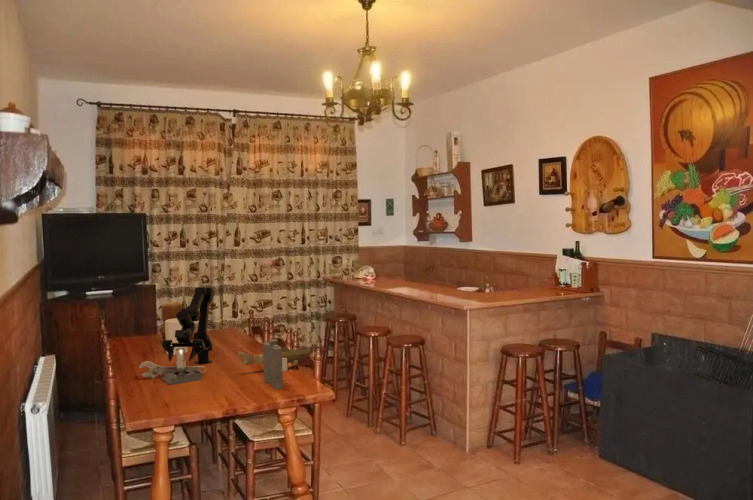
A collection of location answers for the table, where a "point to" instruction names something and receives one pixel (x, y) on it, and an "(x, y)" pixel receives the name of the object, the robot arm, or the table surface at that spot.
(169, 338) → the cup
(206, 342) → the robot arm
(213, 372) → the table surface
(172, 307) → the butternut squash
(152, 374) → the wrench
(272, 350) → the hip flask
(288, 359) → the wood carving
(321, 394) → the table surface
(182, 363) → the pin
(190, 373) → the grey square frame
